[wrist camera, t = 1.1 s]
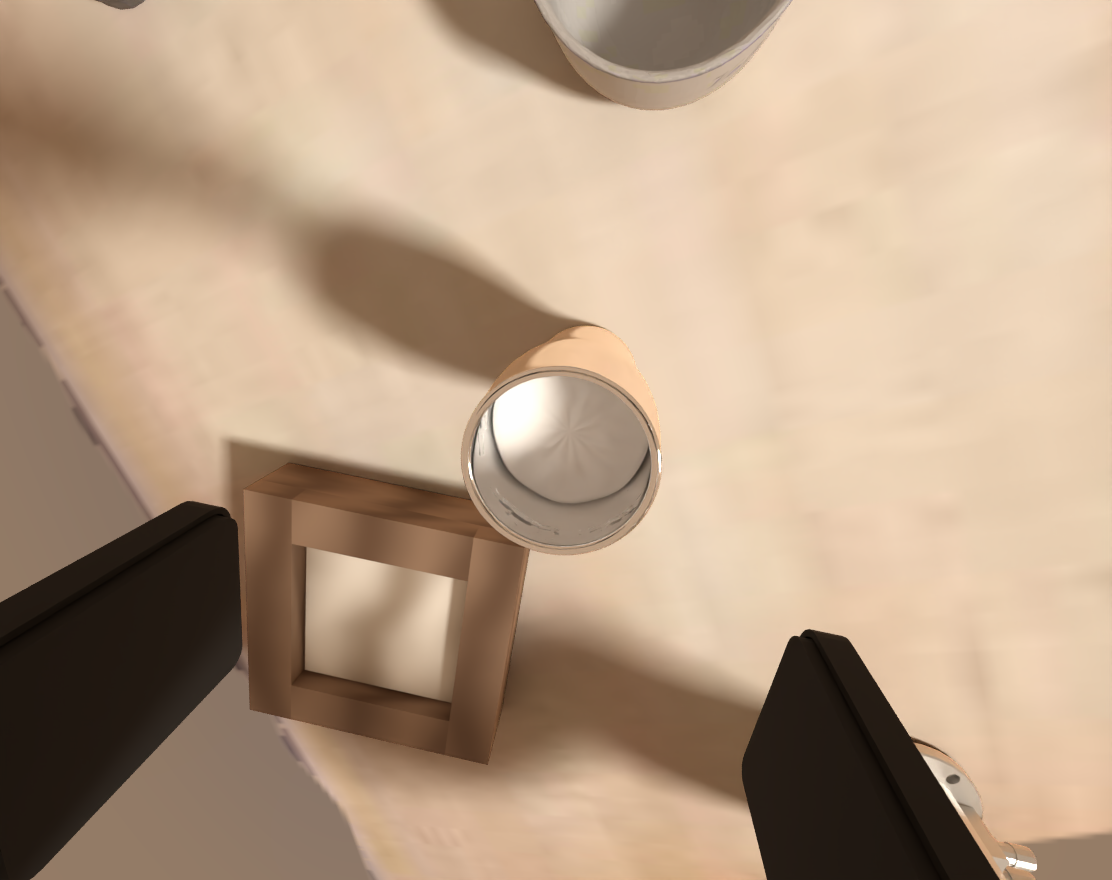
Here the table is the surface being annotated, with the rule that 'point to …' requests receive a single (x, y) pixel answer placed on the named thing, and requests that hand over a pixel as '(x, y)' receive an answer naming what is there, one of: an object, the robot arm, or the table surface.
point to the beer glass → (565, 445)
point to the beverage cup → (122, 3)
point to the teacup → (659, 45)
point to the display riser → (379, 610)
